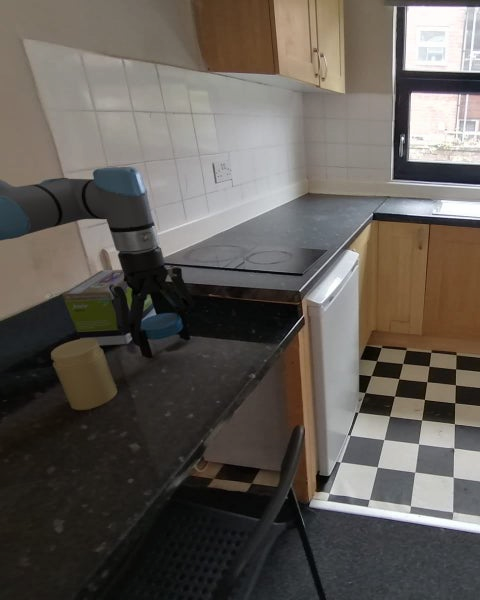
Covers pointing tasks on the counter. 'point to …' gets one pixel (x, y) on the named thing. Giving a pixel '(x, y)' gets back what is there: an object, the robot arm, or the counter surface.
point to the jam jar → (84, 373)
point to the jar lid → (162, 325)
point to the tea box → (100, 308)
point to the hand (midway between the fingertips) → (167, 347)
